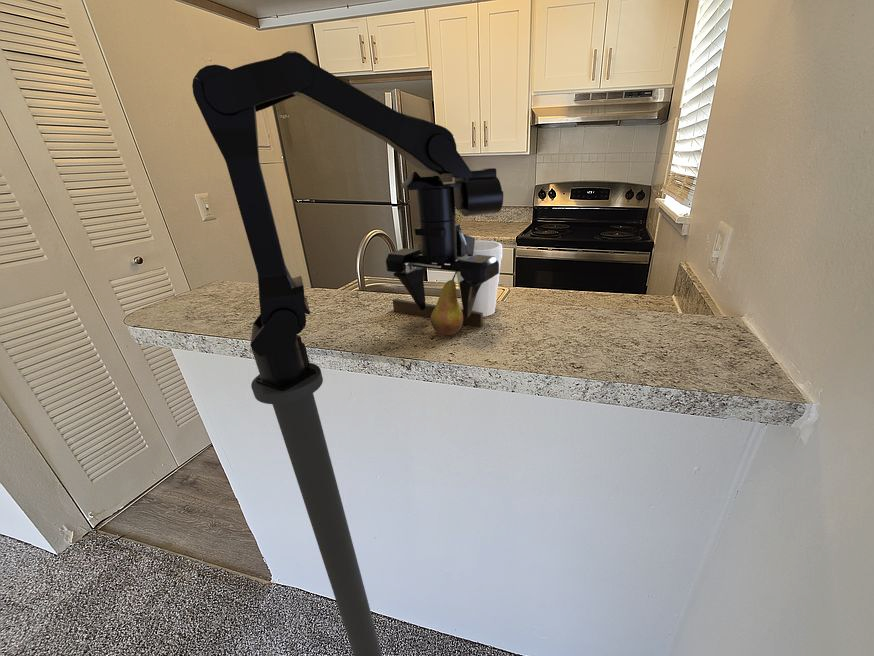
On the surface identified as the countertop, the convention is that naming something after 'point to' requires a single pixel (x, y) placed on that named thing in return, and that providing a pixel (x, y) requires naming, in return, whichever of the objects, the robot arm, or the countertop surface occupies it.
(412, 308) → the rail
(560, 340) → the countertop surface
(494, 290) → the foam cup
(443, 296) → the fruit
